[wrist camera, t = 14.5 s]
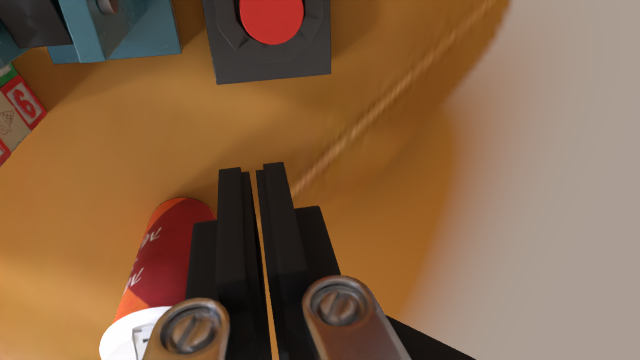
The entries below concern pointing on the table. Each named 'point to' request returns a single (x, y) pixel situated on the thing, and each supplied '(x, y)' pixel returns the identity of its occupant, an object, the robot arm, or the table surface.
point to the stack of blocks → (16, 111)
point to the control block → (267, 45)
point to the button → (271, 19)
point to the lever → (35, 23)
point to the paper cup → (154, 278)
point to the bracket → (109, 31)
